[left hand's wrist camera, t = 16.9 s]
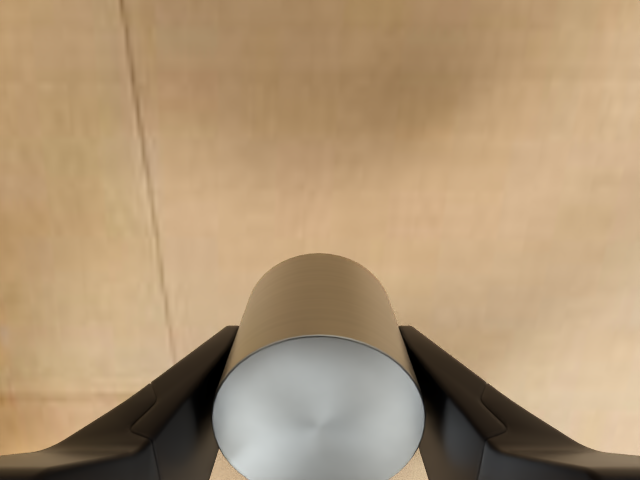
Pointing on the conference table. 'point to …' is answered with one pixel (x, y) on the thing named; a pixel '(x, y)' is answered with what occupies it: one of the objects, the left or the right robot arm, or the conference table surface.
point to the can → (318, 378)
